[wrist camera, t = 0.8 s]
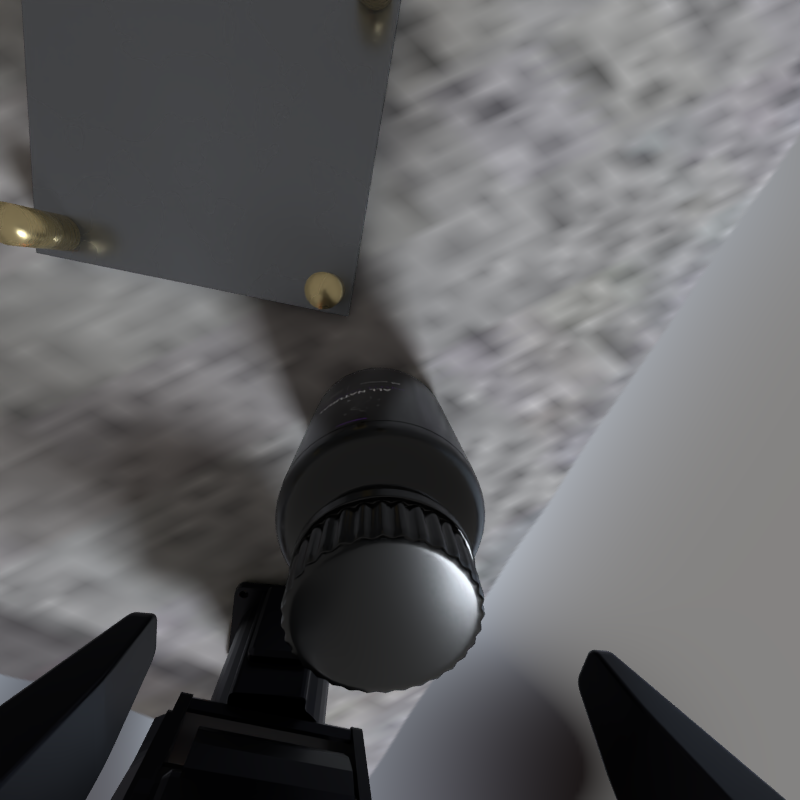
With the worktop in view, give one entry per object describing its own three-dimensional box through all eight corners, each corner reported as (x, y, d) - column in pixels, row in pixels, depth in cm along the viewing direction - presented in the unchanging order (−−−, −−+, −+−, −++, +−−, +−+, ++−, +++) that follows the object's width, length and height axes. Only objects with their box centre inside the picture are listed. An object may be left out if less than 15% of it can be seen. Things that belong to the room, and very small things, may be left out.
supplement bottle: (362, 337, 19) (349, 426, 7) (467, 412, 20) (595, 582, 9) (287, 443, 20) (177, 660, 8) (392, 505, 22) (417, 758, 10)
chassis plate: (348, 314, 18) (344, 321, 15) (51, 254, 16) (-24, 247, 13) (404, -22, 15) (414, -106, 11) (32, -146, 13) (-77, -285, 10)
